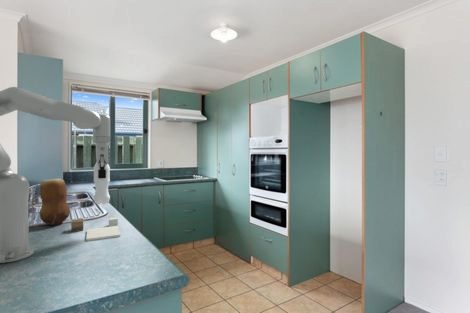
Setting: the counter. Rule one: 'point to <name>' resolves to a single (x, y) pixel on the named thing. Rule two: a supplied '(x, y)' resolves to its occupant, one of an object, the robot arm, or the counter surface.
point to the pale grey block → (113, 222)
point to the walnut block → (77, 225)
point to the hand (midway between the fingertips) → (101, 177)
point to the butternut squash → (53, 201)
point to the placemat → (102, 233)
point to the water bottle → (101, 185)
